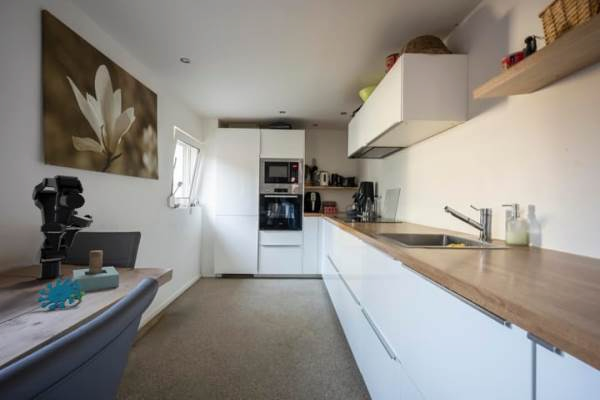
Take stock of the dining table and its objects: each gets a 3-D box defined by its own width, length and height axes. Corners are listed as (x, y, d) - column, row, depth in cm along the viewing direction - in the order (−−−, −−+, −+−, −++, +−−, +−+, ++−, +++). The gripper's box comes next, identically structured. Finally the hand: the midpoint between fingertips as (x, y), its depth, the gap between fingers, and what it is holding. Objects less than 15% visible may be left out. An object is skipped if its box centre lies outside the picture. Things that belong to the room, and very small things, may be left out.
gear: (28, 306, 77) (49, 275, 84) (34, 315, 80) (54, 284, 88) (74, 309, 79) (90, 278, 87) (78, 318, 83) (94, 288, 90)
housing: (72, 281, 106) (72, 270, 106) (112, 277, 114) (113, 266, 114) (73, 292, 94) (74, 279, 94) (118, 286, 102) (119, 274, 102)
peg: (86, 284, 104) (88, 251, 104) (99, 281, 107) (100, 250, 107) (90, 286, 101) (91, 252, 101) (102, 284, 104) (104, 251, 105)
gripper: (78, 209, 98) (76, 252, 98) (99, 208, 116) (97, 245, 116) (40, 208, 95) (38, 253, 95) (68, 207, 113) (66, 245, 112)
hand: (63, 248), depth 104 cm, fingers open, 9 cm apart
